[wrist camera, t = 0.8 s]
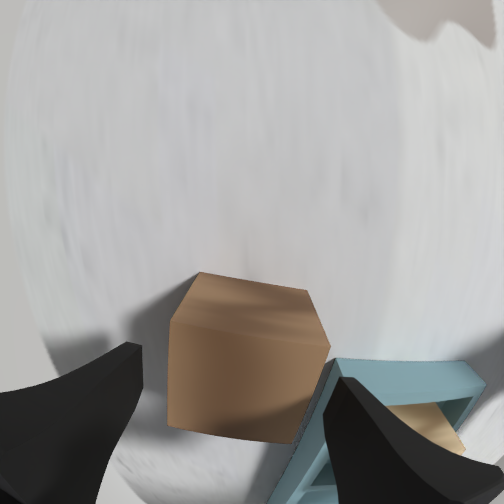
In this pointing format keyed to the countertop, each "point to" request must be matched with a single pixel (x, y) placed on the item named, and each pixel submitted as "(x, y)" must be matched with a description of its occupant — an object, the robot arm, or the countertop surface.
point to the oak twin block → (429, 424)
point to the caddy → (388, 393)
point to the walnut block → (243, 359)
